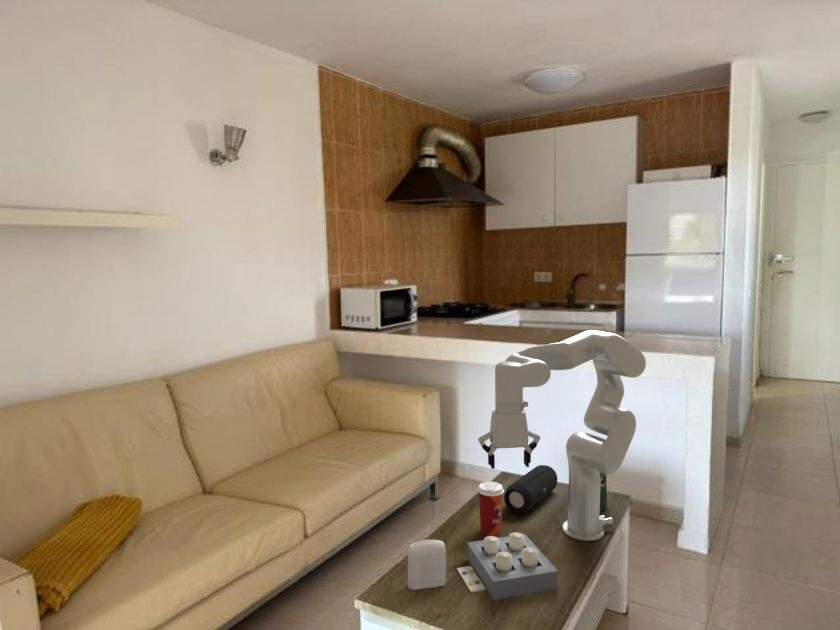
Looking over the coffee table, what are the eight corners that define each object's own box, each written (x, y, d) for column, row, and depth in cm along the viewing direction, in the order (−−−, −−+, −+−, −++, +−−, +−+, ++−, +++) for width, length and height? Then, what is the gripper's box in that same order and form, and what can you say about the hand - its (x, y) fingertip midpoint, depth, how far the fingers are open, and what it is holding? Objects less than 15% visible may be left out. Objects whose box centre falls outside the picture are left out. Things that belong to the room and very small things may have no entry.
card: (470, 567, 160) (470, 565, 160) (485, 590, 149) (485, 587, 149) (457, 569, 159) (457, 567, 159) (470, 592, 148) (470, 590, 148)
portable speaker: (527, 519, 188) (528, 490, 186) (501, 511, 194) (501, 483, 192) (559, 492, 208) (560, 466, 207) (534, 485, 214) (534, 460, 213)
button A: (520, 547, 164) (520, 530, 163) (526, 554, 160) (526, 538, 159) (506, 549, 163) (506, 532, 162) (512, 556, 159) (512, 540, 158)
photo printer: (443, 577, 155) (443, 534, 153) (447, 586, 151) (447, 542, 149) (406, 583, 153) (405, 539, 151) (409, 592, 149) (409, 547, 147)
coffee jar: (589, 499, 202) (590, 448, 200) (610, 506, 196) (611, 454, 194) (574, 508, 195) (576, 456, 193) (596, 515, 190) (597, 462, 187)
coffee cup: (502, 539, 175) (503, 492, 173) (476, 536, 176) (476, 490, 175) (504, 526, 183) (504, 481, 181) (478, 523, 185) (478, 479, 183)
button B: (533, 562, 156) (533, 545, 155) (540, 571, 152) (540, 553, 151) (519, 565, 155) (519, 548, 154) (525, 573, 151) (526, 556, 150)
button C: (495, 550, 162) (495, 534, 161) (501, 558, 158) (501, 541, 157) (481, 553, 161) (481, 536, 160) (487, 560, 157) (487, 544, 156)
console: (524, 549, 169) (524, 533, 168) (557, 588, 149) (557, 570, 149) (466, 558, 164) (467, 542, 163) (493, 600, 145) (493, 581, 144)
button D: (507, 566, 154) (508, 549, 153) (514, 575, 150) (514, 558, 149) (493, 569, 153) (493, 552, 152) (499, 578, 149) (499, 560, 148)
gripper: (536, 401, 161) (536, 459, 163) (475, 404, 160) (476, 462, 162) (543, 409, 154) (543, 470, 156) (480, 412, 153) (481, 473, 155)
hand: (509, 466), depth 159 cm, fingers open, 9 cm apart
